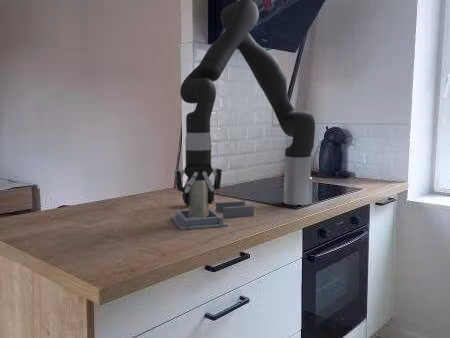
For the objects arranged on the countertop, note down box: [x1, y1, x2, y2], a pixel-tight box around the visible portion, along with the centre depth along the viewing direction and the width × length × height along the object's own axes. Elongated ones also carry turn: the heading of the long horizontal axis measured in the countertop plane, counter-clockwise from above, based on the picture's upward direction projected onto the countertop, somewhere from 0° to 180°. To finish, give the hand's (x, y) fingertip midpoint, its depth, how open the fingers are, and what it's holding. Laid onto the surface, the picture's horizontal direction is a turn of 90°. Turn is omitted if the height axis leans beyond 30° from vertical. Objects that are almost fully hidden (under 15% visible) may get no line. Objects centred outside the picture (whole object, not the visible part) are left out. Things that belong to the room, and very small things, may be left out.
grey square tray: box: [170, 207, 229, 231], centre depth 123 cm, size 14×14×3 cm
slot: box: [215, 200, 255, 219], centre depth 134 cm, size 10×9×3 cm
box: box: [188, 180, 210, 218], centre depth 122 cm, size 5×4×11 cm
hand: (198, 203), depth 122 cm, fingers closed on box, 6 cm apart
